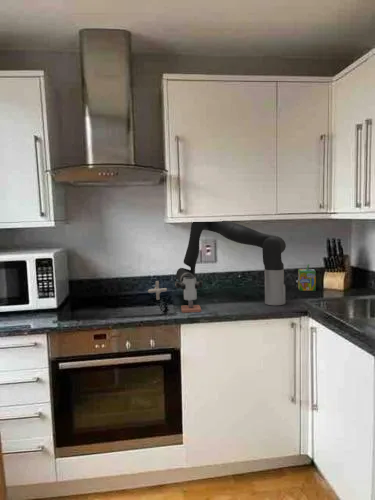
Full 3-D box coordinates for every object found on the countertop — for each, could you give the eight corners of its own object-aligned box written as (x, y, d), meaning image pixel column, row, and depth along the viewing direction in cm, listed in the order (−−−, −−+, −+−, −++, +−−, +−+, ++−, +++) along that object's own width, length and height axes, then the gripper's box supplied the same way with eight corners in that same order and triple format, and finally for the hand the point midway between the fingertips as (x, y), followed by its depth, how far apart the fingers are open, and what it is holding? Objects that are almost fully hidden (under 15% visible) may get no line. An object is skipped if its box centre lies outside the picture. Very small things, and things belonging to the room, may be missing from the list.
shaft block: (199, 307, 183) (198, 294, 183) (201, 311, 175) (200, 298, 174) (181, 308, 183) (180, 295, 182) (182, 312, 174) (181, 299, 173)
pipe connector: (150, 302, 197) (149, 283, 196) (147, 298, 207) (146, 280, 206) (168, 300, 200) (168, 282, 199) (165, 296, 210) (164, 279, 209)
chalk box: (297, 287, 222) (297, 263, 220) (314, 288, 220) (313, 263, 218) (299, 291, 213) (299, 265, 211) (316, 291, 211) (316, 265, 209)
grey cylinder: (195, 296, 182) (195, 276, 180) (197, 299, 176) (196, 278, 175) (183, 297, 181) (183, 277, 180) (184, 300, 175) (183, 279, 174)
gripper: (173, 274, 191) (174, 280, 174) (201, 272, 192) (205, 278, 175) (174, 288, 192) (175, 295, 175) (201, 287, 193) (205, 294, 176)
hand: (190, 287), depth 175 cm, fingers closed on grey cylinder, 6 cm apart
